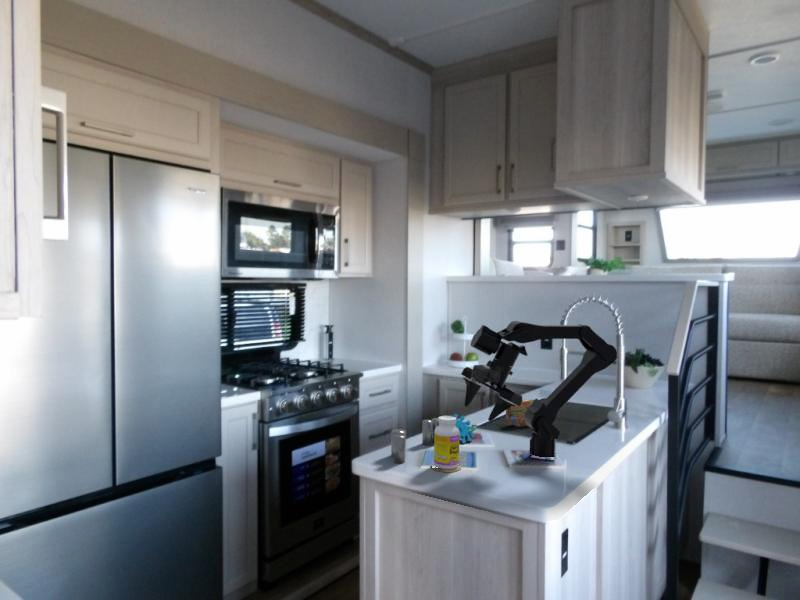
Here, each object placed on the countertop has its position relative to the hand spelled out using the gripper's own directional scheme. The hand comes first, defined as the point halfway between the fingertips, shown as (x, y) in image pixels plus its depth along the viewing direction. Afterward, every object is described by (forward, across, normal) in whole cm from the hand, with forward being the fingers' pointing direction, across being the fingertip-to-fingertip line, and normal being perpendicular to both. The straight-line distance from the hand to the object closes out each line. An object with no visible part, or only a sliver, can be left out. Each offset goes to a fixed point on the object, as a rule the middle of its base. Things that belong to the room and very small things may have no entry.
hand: (477, 413), depth 158 cm
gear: (+12, -12, +15) cm, 22 cm away
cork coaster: (+16, +3, -6) cm, 17 cm away
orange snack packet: (-1, -12, +44) cm, 46 cm away
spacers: (+18, -12, -2) cm, 22 cm away
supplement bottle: (+16, +3, -6) cm, 17 cm away
